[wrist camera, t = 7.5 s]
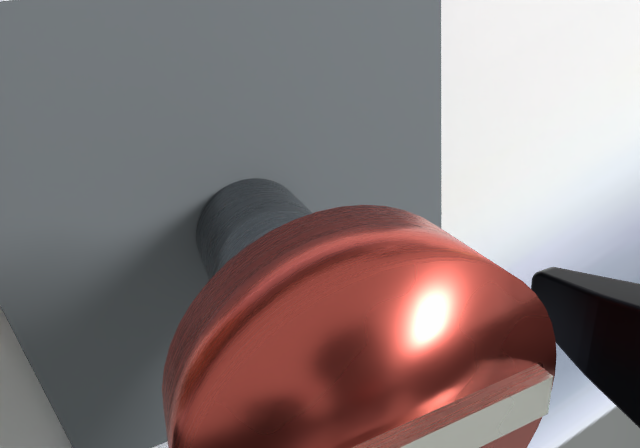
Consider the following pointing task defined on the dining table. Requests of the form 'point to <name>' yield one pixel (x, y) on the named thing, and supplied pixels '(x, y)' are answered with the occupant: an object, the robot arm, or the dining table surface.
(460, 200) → the dining table surface
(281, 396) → the no entry disc
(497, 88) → the dining table surface
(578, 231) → the dining table surface
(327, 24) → the mat
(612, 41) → the dining table surface
